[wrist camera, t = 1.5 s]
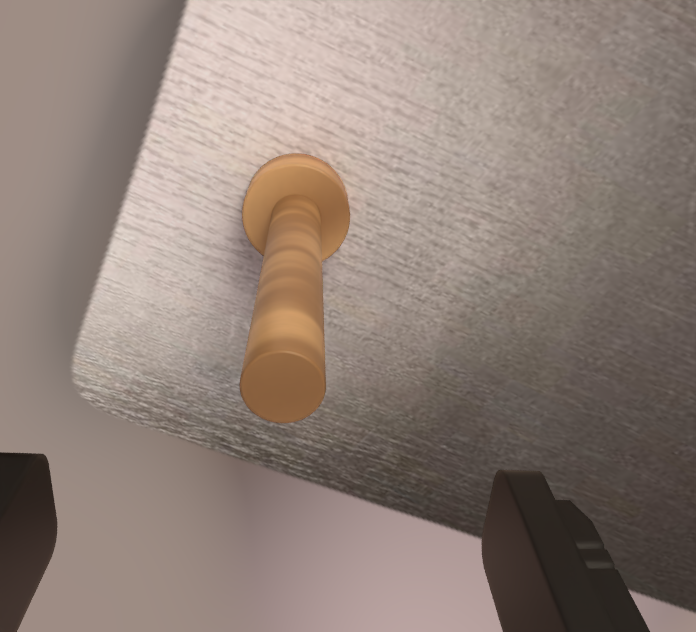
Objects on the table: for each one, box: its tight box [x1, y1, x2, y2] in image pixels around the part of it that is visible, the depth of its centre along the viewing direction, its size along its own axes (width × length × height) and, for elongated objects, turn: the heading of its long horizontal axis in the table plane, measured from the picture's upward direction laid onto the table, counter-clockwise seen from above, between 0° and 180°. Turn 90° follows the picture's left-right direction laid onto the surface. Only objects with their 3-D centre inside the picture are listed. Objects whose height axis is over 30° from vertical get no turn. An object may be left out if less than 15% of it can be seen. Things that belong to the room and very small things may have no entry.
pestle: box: [240, 154, 350, 423], centre depth 22 cm, size 4×4×15 cm
